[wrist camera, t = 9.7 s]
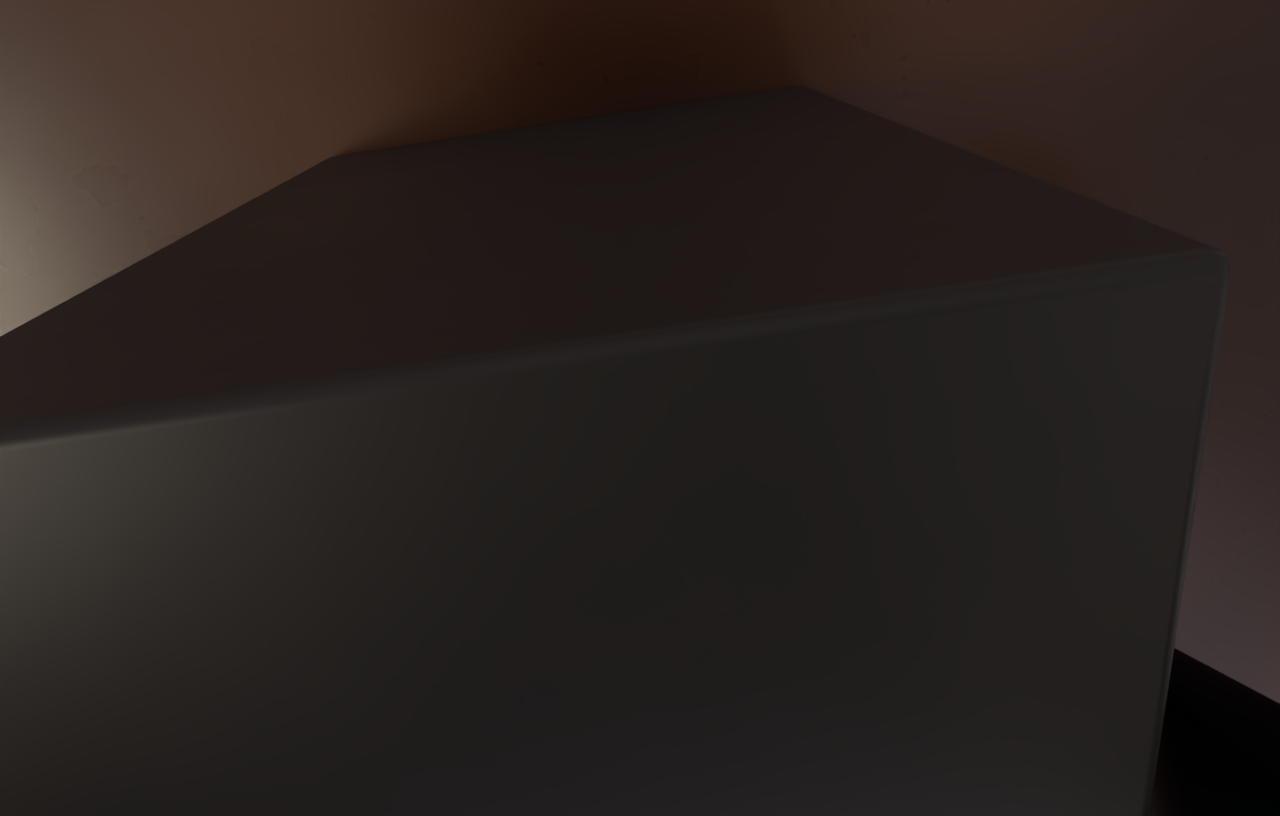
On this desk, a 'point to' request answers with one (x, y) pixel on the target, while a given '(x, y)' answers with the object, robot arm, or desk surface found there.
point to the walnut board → (668, 75)
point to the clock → (612, 486)
